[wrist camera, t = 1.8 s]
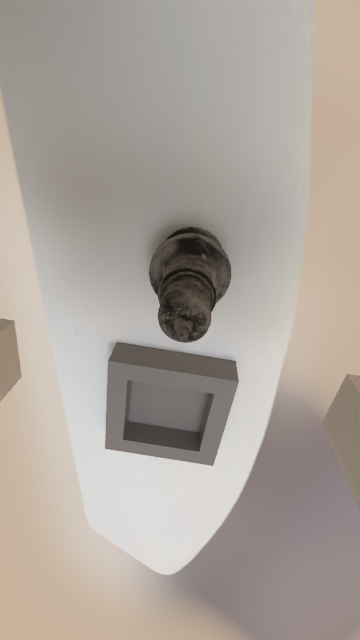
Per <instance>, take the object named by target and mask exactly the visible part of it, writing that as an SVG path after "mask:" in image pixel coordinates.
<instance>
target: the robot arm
mask: <svg viewBox="0 0 360 640" xmlns="http://www.w3.org/2000/svg"><path fill="white" fill-rule="evenodd" d="M15 331H16V330H15V323H14V321H12V320H6V319H0V401H1V400H2V399H3V398H4V397H5V395H6V394H7V393H8V392H9V391H10V390H11V388H12V387H13V386H14V385H15V383H17V381H18V380H19V379H20V378H21V369H20V361H19V353H18V347H17V338H16V332H15ZM322 426H323V429H324V431H325V433H326V435H327V438H328V440H329V442H330V444H331V446H332V449H333V451H334V453H335V455H336V457H337V460H338V462H339V464H340V466H341V469H342V471H343V473H344V475H345V477H346V480H347V482H348V484H349V486H350V488H351V491H352V493H353V495H354V497H355V500H356V502H357V504H358V506H359V508H360V376H357V375H350V374H347V375H346V377H345V379H344V381H343V383H342V385H341V387H340V389H339V391H338V393H337V395H336V397H335V399H334V401H333V402H332V404H331V406H330V408H329V410H328V412H327V414H326V416H325V418H324V420H323V422H322Z"/></svg>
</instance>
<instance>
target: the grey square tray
mask: <svg viewBox="0 0 360 640" xmlns="http://www.w3.org/2000/svg"><path fill="white" fill-rule="evenodd" d="M238 382H239V380H238V374H237V367H236V361H229V360H223V359H217V358H211V357H204V356H198V355H192V354H186V353H179V352H173V351H167V350H161V349H154V348H148V347H142V346H136V345H129V344H123V343H117V344H116V346H115V348H114V350H113V352H112V354H111V356H110V358H109V361H108V384H107V413H106V441H105V449H111V450H117V451H123V452H130V453H136V454H142V455H149V456H155V457H161V458H168V459H174V460H180V461H187V462H193V463H199V464H206V465H212V466H213V464H214V461H215V458H216V454H217V451H218V448H219V445H220V441H221V438H222V435H223V432H224V428H225V425H226V422H227V418H228V415H229V412H230V409H231V405H232V402H233V399H234V395H235V392H236V389H237V386H238Z"/></svg>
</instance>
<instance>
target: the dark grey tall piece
mask: <svg viewBox="0 0 360 640" xmlns="http://www.w3.org/2000/svg"><path fill="white" fill-rule="evenodd" d="M149 276H150V281H151V285H152V287H153V289H154V291H155V293H156V294H157V295H158V299H159V303H160V307H159V311H158V320H159V324H160V327H161V329H162V331H163V332H164V333H165V334H166V335H167V336H168V337H170V338H171V339H173V340H175V341H178V342H184V343H186V342H193V341H196V340H198V339H200V338H201V337H203V336H204V335H205V333H206V332H207V330H208V328H209V326H210V323H211V312H212V311H213V308H214V306H215V304H216V303H217V302H218V301H219V300H220V299H221V298H222V297H223V295H224V294H225V292H226V290H227V288H228V287H229V283H230V278H231V267H230V262H229V260H228V257H227V254H226V253H225V252H224V250H223V249H222V247H221V244H220V243H219V242H218V240H217V239H216V237H214V236H213V235H212V234H211V233H209V232H208V231H205V230H203V229H201V228H193V227H190V228H183V229H181V230H178V231H176V232H174V233H173V234H172V235H171V236H169V237H168V238H167V240H166V241H165V242H164V243H163V244H161V245H160V246H159V248H158V249H157V250H156V252H155V253H154V255H153V258H152V260H151V263H150V271H149Z"/></svg>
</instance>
